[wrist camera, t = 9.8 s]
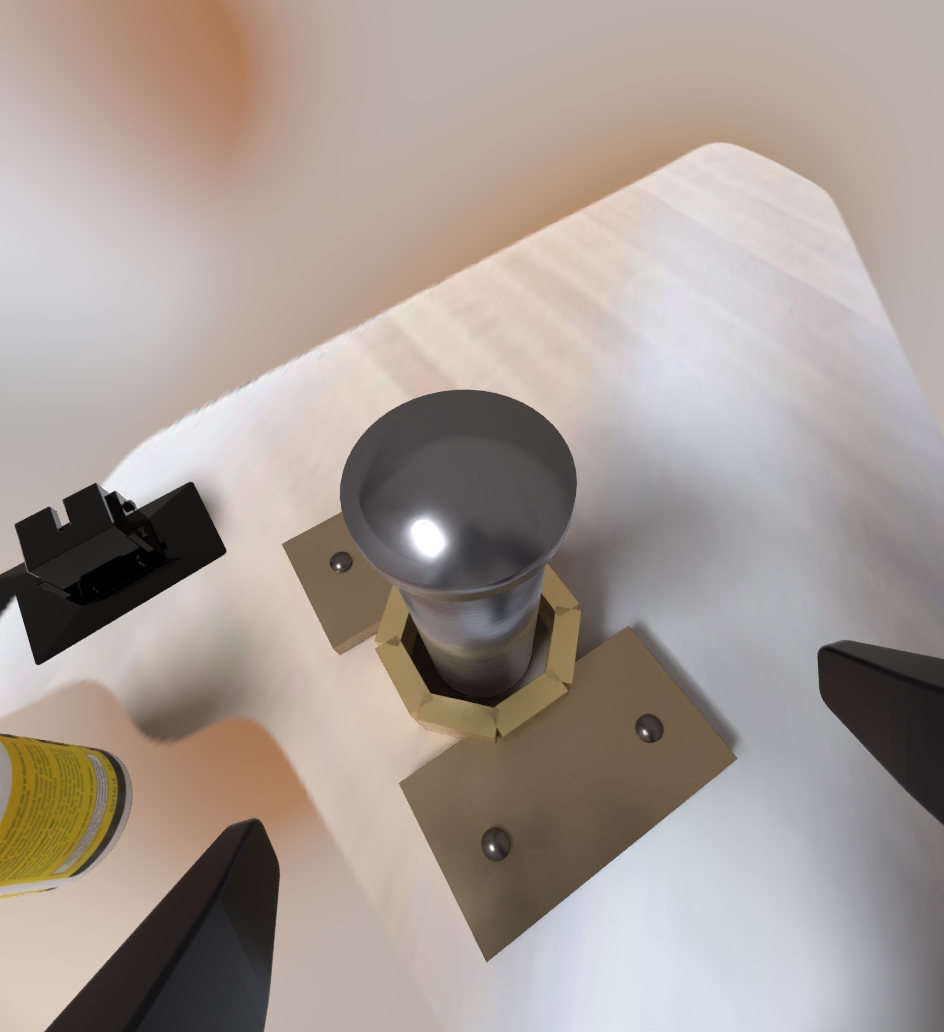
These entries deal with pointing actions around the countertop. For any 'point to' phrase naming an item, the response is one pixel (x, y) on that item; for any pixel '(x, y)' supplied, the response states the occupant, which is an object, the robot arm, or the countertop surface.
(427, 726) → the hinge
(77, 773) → the supplement bottle
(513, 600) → the hinge pin
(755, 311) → the countertop surface
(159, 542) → the black notched mount
